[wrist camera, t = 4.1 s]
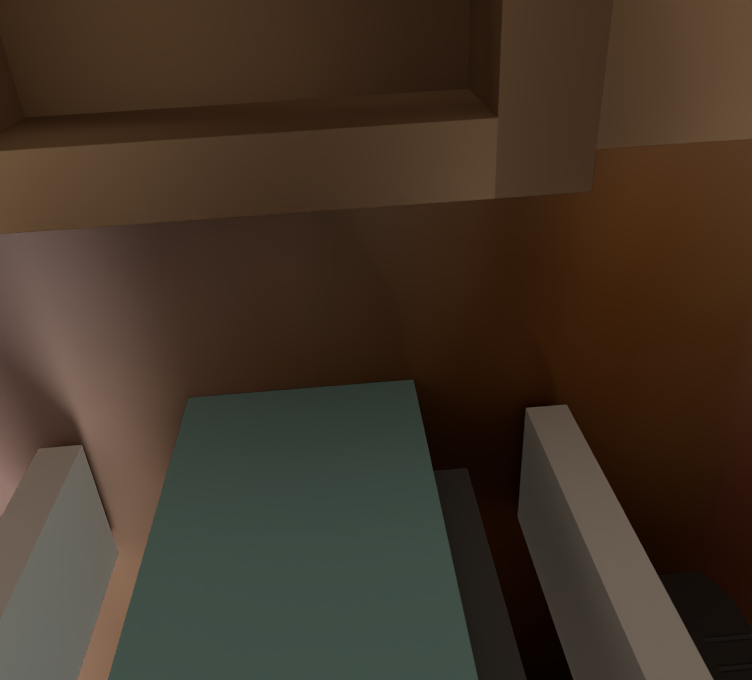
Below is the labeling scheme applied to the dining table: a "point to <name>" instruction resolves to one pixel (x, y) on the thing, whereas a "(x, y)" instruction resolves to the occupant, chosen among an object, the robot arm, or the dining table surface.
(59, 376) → the dining table surface
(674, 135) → the rail
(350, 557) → the teal rectangular block
